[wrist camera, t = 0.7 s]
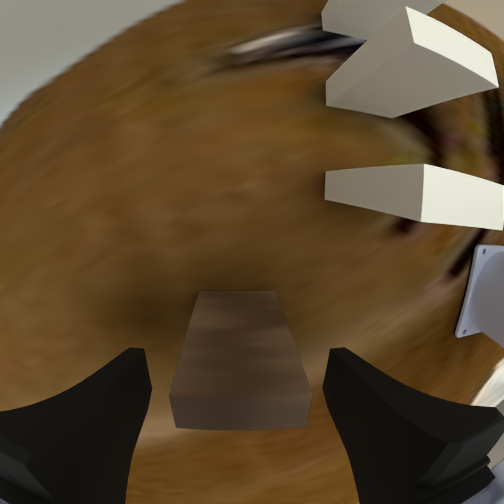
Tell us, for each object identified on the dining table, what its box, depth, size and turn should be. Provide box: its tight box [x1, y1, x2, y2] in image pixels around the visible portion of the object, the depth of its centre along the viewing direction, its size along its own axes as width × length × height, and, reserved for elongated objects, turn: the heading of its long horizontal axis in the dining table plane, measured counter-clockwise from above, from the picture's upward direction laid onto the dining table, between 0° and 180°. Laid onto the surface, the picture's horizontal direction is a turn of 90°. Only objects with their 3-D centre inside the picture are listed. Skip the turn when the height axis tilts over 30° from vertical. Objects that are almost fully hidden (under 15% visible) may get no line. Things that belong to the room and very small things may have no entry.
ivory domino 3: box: [325, 164, 504, 230], centre depth 11 cm, size 4×2×9 cm, turn 89°
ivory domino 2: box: [326, 6, 499, 118], centre depth 10 cm, size 4×2×9 cm, turn 89°
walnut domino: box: [169, 290, 313, 430], centre depth 12 cm, size 4×2×9 cm, turn 89°
